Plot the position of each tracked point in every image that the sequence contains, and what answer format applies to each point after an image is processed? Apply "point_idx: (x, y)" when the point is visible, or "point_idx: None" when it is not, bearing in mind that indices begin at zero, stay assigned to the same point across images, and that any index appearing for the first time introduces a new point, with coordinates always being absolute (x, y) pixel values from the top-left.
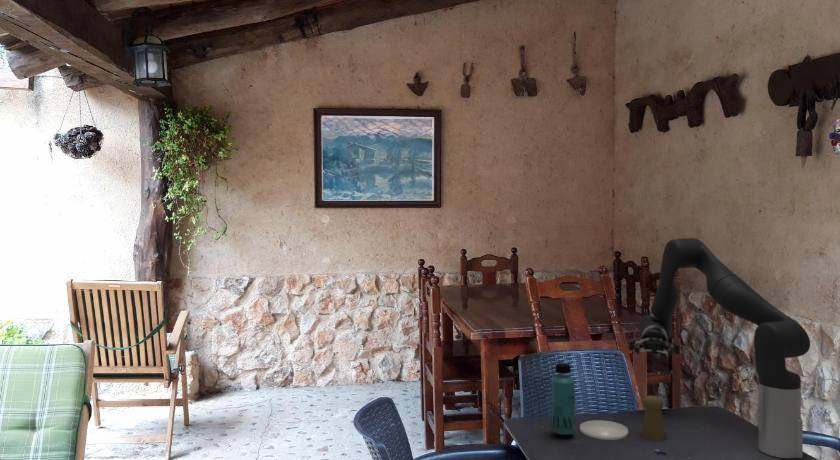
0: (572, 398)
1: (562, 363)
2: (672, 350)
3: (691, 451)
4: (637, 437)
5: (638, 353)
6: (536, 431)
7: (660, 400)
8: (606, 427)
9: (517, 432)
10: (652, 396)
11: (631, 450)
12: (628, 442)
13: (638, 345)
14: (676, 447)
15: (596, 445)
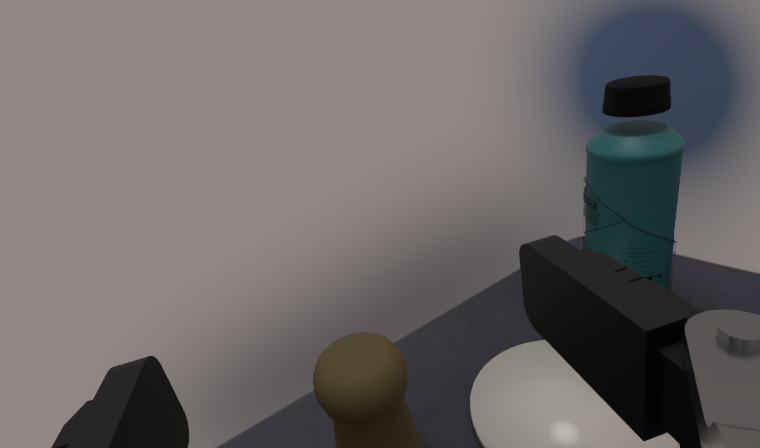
0: (586, 201)
1: (648, 78)
2: (84, 407)
3: (249, 435)
4: (437, 439)
5: (533, 309)
6: (710, 297)
7: (320, 356)
8: (564, 415)
9: (730, 269)
10: (357, 352)
11: (410, 345)
12: (442, 384)
13: (584, 270)
14: (295, 437)
15: (502, 320)
